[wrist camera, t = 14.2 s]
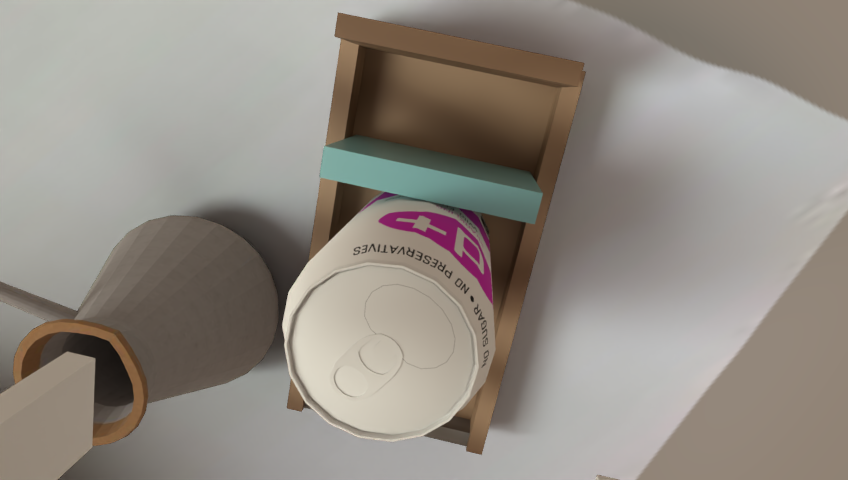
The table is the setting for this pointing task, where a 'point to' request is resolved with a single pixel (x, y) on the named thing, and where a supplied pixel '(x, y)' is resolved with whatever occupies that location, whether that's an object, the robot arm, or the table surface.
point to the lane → (453, 151)
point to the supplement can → (394, 319)
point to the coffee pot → (158, 319)
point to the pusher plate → (433, 177)
